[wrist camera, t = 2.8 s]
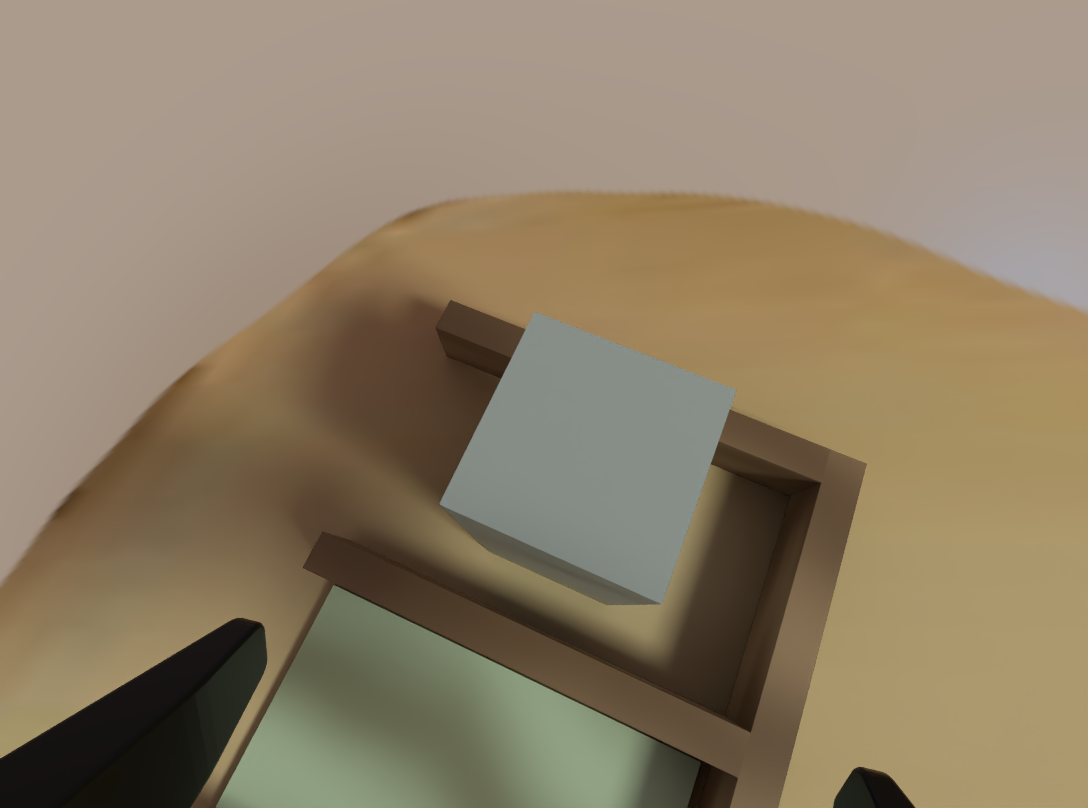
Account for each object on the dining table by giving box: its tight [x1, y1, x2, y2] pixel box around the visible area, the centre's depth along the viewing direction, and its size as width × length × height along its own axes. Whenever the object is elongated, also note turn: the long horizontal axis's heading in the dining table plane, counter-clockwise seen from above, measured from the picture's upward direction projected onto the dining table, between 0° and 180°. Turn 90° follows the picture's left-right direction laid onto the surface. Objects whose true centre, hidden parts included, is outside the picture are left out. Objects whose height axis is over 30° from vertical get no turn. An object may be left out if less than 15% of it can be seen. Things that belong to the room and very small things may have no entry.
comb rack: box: [215, 300, 867, 808], centre depth 18 cm, size 19×15×2 cm
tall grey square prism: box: [439, 312, 736, 605], centre depth 16 cm, size 4×4×10 cm
